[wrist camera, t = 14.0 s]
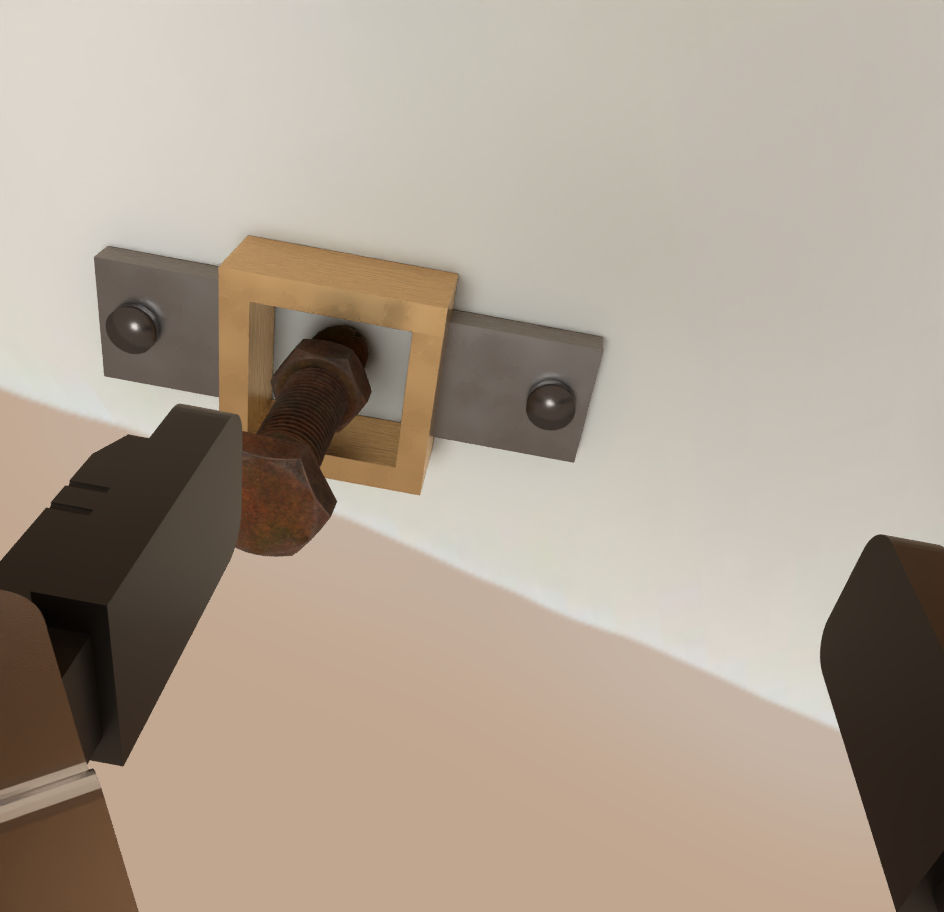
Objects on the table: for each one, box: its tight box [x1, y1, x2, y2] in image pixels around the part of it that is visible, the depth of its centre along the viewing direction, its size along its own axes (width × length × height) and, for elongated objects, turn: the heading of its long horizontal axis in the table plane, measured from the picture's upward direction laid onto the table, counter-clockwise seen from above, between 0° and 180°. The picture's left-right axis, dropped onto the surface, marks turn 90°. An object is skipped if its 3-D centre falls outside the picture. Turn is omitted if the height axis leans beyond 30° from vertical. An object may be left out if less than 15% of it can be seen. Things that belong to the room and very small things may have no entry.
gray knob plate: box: [432, 310, 603, 463], centre depth 48 cm, size 9×7×2 cm
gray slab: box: [94, 246, 219, 397], centre depth 48 cm, size 8×7×2 cm
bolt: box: [235, 326, 372, 557], centre depth 42 cm, size 6×5×15 cm
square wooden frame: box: [218, 236, 458, 495], centre depth 47 cm, size 11×11×4 cm
